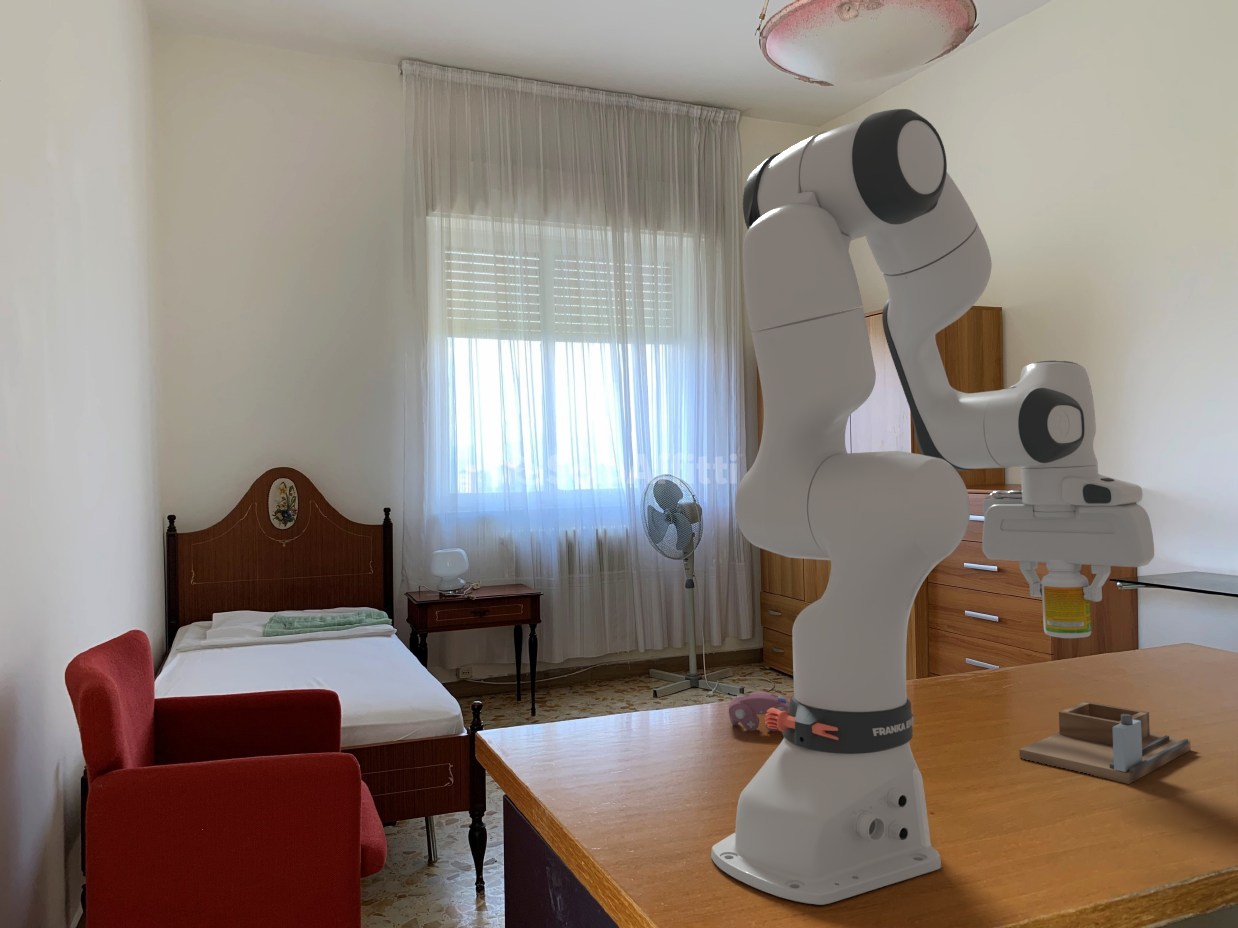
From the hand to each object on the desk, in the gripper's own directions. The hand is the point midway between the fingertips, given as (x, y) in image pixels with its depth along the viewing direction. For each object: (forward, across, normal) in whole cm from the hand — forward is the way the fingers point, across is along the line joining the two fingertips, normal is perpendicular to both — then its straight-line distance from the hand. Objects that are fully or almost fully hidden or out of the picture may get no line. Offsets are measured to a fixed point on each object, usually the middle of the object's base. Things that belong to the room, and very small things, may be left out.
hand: (1065, 598), depth 112 cm
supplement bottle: (+5, 0, 0) cm, 5 cm away
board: (+21, +2, +5) cm, 21 cm away
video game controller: (+20, -36, -18) cm, 45 cm away
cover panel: (+19, +7, -2) cm, 21 cm away
